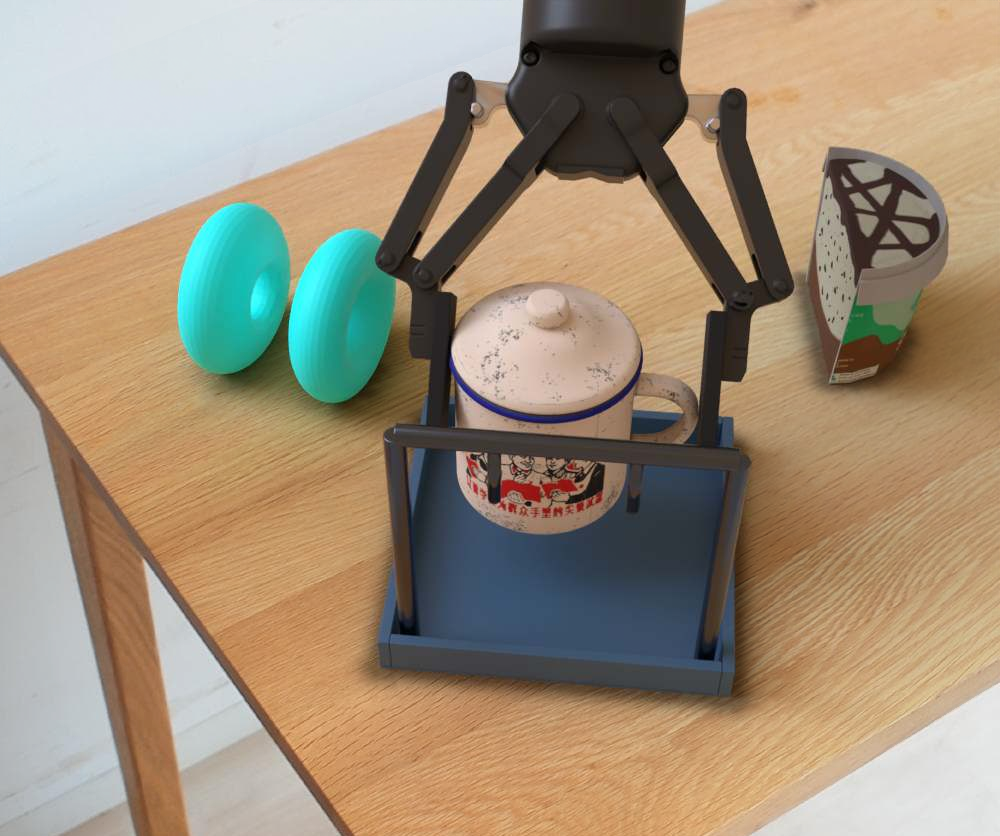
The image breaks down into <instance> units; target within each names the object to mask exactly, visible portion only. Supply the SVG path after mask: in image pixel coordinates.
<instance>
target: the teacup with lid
mask: <svg viewBox="0 0 1000 836" xmlns="http://www.w3.org/2000/svg"><path fill="white" fill-rule="evenodd" d="M643 363H644V350H643V345H642V341H641V339H640V337H639V333H638V331H637V329H636V326H635V325H634V324H633V322H632V320H631V319H630V318H629V317H628V315H627V313H625V312H624V310H623V309H621V308H620V307H619V306H618V305H617V304H616V303H614V302H613V301H611V300H610V299H608V298H607V297H605V296H604V295H602V294H599V293H597V292H596V291H594V290H590V289H588V288H585V287H582V286H579V285H575V284H572V283H571V284H570V283H566V282H558V281H531V282H529V281H528V282H521V283H517V284H513V285H509V286H506V287H503V288H501V289H497V290H495V291H493V292H491V293H489V294H487V295H485V296H484V297H482V298H480V299H479V300H478V301H476V302H475V303H474V304H473V305H471V306H470V307H469V308H468V309H467V310H466V312H465V313H463V315H462V316H461V318H460V319H459V321H458V322H457V324H456V325H455V330H454V332H453V335H452V337H451V340H450V345H449V364H450V368H451V371H452V375H453V377H454V378H453V380H454V397H455V420H456V427H462V428H476V429H490V430H503V431H517V432H530V433H544V434H557V435H571V436H585V437H598V438H612V439H625V440H639V441H652V442H666V443H680V444H683V443H684V442H685V441H686V440H687V439H688V438H689V436H690V435H691V434H692V432H693V431H694V429H695V426H696V424H697V420H698V412H699V399H698V397H697V395H696V393H695V392H694V389H692V387H690V386H689V384H687V383H685V382H684V381H683V380H681V379H679V378H676V377H674V376H671V375H667V374H661V373H651V372H642V369H643ZM635 396H636V397H637V396H638V397H653V398H659V399H665V400H667V401H671V402H673V403H674V404H676V405H677V406H678V407H679V408H680V409H681V410H682V413H683V414H682V416H681V417H680V419H679V420H678V421H677V422H676V423H675V424H674V425H673V426H671V427H670V428H668V429H666V430H664V431H662V432H658V433H653V434H630V431H631V421H632V411H633V410H634V401H635ZM456 458H457V476H458V481H459V485H460V488H461V490H462V492H463V494H464V496H465V497H466V499H467V500H468V501H469V503H470V504H471V505H472V506H473V507H474V508H475V510H477V511H478V512H479V513H480V514H481V515H483V516H484V517H485V518H487V519H488V520H490V521H492V522H493V523H495V524H498V525H500V526H502V527H505V528H507V529H510V530H514V531H517V532H522V533H528V534H540V535H546V534H558V533H564V532H569V531H572V530H576V529H579V528H581V527H584V526H586V525H588V524H590V523H592V522H594V521H596V520H597V519H598V518H600V517H601V516H603V515H604V514H605V513H606V512H607V511H608V510H609V509H610V508H611V507H612V506H613V505H614V503H615V502H616V501H617V499H618V498H619V496H620V494H621V492H622V489H623V486H624V483H625V478H626V469H627V464H623V463H610V462H596V461H583V460H570V459H556V458H543V457H529V456H516V455H503V454H501V501H500V502H499V503H498V504H491V503H490V502H489V501H488V493H487V453H476V452H463V451H456Z"/></svg>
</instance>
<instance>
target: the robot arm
mask: <svg viewBox="0 0 1000 836" xmlns="http://www.w3.org/2000/svg"><path fill="white" fill-rule="evenodd" d="M686 6H687V0H522V12H521V25H520V40H519V53H518V63H517V65H516V69H515V71H514V74H513V76H512V77H511V79H510V80H509V81H508V83H507V82H499V81H491V80H481V79H474V78H473V76H472V75H471V74H469V72H467V71H463V70H461V71H456V72H454V73H453V74H452V75H451V76H450V77H449V80H448V81H447V90H446V98H445V107H444V115H443V120H442V122H441V124H440V125H439V128H438V129H437V132H436V134H435V135H434V137H433V140H432V141H431V144H430V146H429V148H428V150H427V152H426V154H425V155H424V158H423V159H422V161H421V164H420V165H419V167H418V169H417V171H416V174H415V175H414V177H413V179H412V182H411V183H410V185H409V187H408V189H407V191H406V193H405V195H404V197H403V200H402V201H401V203H400V205H399V207H398V209H397V211H396V213H395V215H394V217H393V219H392V221H391V223H390V225H389V227H388V229H387V231H386V233H385V235H384V237H383V239H382V243H381V245H380V247H379V249H378V251H377V253H376V256H375V263H376V265H377V267H378V268H379V269H380V270H382V271H383V272H385V273H386V274H388V275H389V276H392V277H394V278H396V280H399V281H400V282H403V283H406V284H407V285H408V287H409V289H410V292H411V304H410V319H409V333H408V334H409V335H408V346H407V347H408V350H409V354H410V357H411V359H414V360H424V361H425V360H427V361H430V362H429V373H428V388H427V395H428V400H427V414H426V425H435V426H448V417H449V404H450V397H451V389H452V388H451V387H452V375H453V374H452V371H451V368H450V364H449V345H450V340H451V337H452V335H453V332H454V330H455V328H456V321H457V305H458V296H457V295H456V294H454V293H453V292H452V291H443V286H444V285H445V284H446V283H448V281H449V280H450V279H451V278H452V276H453V275H454V274H455V273H456V272H457V270H458V269H459V268H460V267H461V266H462V265H463V263H464V262H465V261H466V260H467V259H468V258H469V257H470V255H471V254H472V253H473V252H474V251H475V249H476V248H477V247H478V246H479V245H480V243H481V242H482V241H483V240H484V239H485V238H486V237H487V235H488V234H489V233H490V232H491V231H492V229H493V228H494V227H495V226H496V225H497V224H498V223H499V221H500V220H501V219H502V218H503V217H504V215H505V214H506V213H507V212H508V211H509V210H510V209H511V208H512V206H513V205H514V204H515V203H516V202H517V200H518V199H520V198H521V196H522V195H523V194H524V193H525V191H526V190H528V189H529V188H530V187H531V186H532V185H533V184H534V183H535V182H536V181H537V179H538V178H539V177H540V176H541V175H542V174H543V172H545V171H546V172H547V174H549V175H552V176H553V177H556V178H557V180H558V181H571V182H572V181H573V182H574V181H580V180H585V179H594V180H597V181H601V182H603V183H606V184H617V185H623V184H624V182H627V181H631V180H634V179H635V178H637V177H638V176H639V178H640V179H641V181H642V183H643V184H644V186H645V188H646V189H647V191H648V192H649V194H650V195H651V196H652V197H653V198H654V200H655V201H656V203H657V205H658V206H659V207H660V209H661V211H662V212H663V214H664V215H665V217H666V219H667V220H668V223H670V225H671V227H672V228H673V230H674V231H675V233H676V234H677V236H678V237H679V239H680V241H681V242H682V244H683V245H684V247H685V249H686V250H687V252H688V253H689V255H690V256H691V258H692V259H693V262H695V265H697V267H698V269H699V271H700V273H701V274H702V275H703V277H704V278H705V280H706V281H707V283H708V285H709V286H710V287H711V289H712V291H713V293H714V294H715V295H716V297H717V299H718V301H719V302H720V303H721V305H722V310H712V309H711V310H709V311H708V313H706V316H705V329H704V342H703V354H702V365H701V377H700V388H699V389H700V391H699V399H698V405H699V410H698V424H697V436H696V445H707V446H716V441H717V429H718V417H719V416H720V402H721V394H722V393H721V391H722V382H726V383H741V382H742V381H743V379H744V377H745V375H746V373H747V371H748V369H747V368H748V358H749V357H748V356H749V347H750V346H749V345H750V337H751V336H750V335H751V334H750V333H751V323H752V317H753V315H754V313H755V312H756V310H758V309H760V308H765V307H768V306H771V305H774V304H779V303H781V302H783V301H785V300H786V299H788V298H789V297H790V296H792V294H793V293H794V289H795V281H794V278H793V276H792V271H791V270H790V266H789V263H788V261H787V257H786V254H785V252H784V251H785V250H784V248H783V245H782V241H781V239H780V236H779V233H778V230H777V226H776V224H775V220H774V218H773V216H772V211H771V209H770V206H769V204H768V203H769V202H768V201H767V197H766V194H765V190H764V188H763V184H762V182H761V179H760V176H759V173H758V169H757V167H756V164H755V161H754V158H753V155H752V152H751V148H750V147H749V142H748V139H747V122H748V121H747V120H748V98H747V95H746V92H744V90H742V89H741V88H738V87H730V88H728V89H726V90H725V91H724V92H722V94H698V93H697V94H694V93H693V94H689V93H687V91H686V89H685V87H684V84H683V80H682V77H681V76H682V75H681V71H682V70H681V68H682V56H683V45H684V43H683V42H684V31H685V19H686V8H687V7H686ZM503 109H504V110H507V112H508V114H509V116H510V117H511V119H512V121H513V122H514V124H515V126H516V127H517V129H518V130H519V132H520V134H521V135H522V137H523V138H522V139H521V140H520V141H519V142H518V144H516V146H515V148H513V150H511V152H510V153H509V154H508V155H507V157H506V158H505V160H504V161H503V163H502V165H501V166H500V168H499V169H498V170H497V171H496V172H495V173H494V174H493V175H492V177H491V178H490V179H489V180H488V182H487V183H486V184H485V185H484V186H483V187H482V189H481V190H480V191H479V192H478V193H477V194H476V195H475V197H474V198H473V199H472V200H471V202H470V203H468V205H467V206H466V207H465V209H464V210H463V211H462V212H461V213H460V214H459V216H458V217H457V218H456V219H455V220H454V222H453V223H452V224H450V226H449V227H448V229H447V230H446V231H445V232H444V233H443V235H441V236H440V237H439V238H438V240H437V241H436V242H435V244H434V245H432V247H431V248H430V249H429V251H428V252H427V253H426V254H425V255H424V256H423V258H421V259H419V258H418V257H415V256H414V255H415V254H416V252H417V249H418V247H419V245H420V243H421V242H422V240H423V238H424V236H425V234H426V232H427V230H428V228H429V226H430V224H431V222H432V219H433V218H434V217H435V214H436V212H437V210H438V208H439V206H440V205H441V202H442V200H443V198H444V196H445V194H446V193H447V190H448V189H449V186H450V184H451V182H452V181H453V179H454V176H455V174H456V172H457V171H458V169H459V167H460V165H461V163H462V161H463V158H465V155H466V153H467V151H468V149H469V146H470V144H471V142H472V139H473V136H474V133H475V130H476V129H483V128H485V127H487V126H488V125H489V124H490V123H491V120H492V117H493V115H494V114H495V113H496V112H497V111H499V110H503ZM685 121H690V122H693V123H694V124H695V125H696V126H697V128H698V131H699V135H700V137H701V139H702V140H703V141H704V142H706V143H708V144H715V150H716V156H717V161H718V164H719V169H720V171H721V174H722V177H723V181H724V183H725V187H726V189H727V192H728V195H729V198H730V201H731V204H732V207H733V210H734V213H735V216H736V219H737V222H738V225H739V228H740V232H741V234H742V237H743V241H744V243H745V246H746V249H747V253H748V256H749V258H750V261H751V264H752V267H753V270H754V273H755V276H756V279H755V280H752V281H749V282H747V280H746V279H745V278H744V276H743V274H742V273H741V271H740V269H739V268H738V266H737V265H736V264H735V262H734V260H733V259H732V257H731V256H730V254H729V252H728V251H727V249H726V248H725V246H724V244H723V243H722V241H721V239H720V238H719V237H718V235H717V233H716V232H715V230H714V228H713V226H711V224H710V223H709V221H708V219H707V218H706V216H705V214H704V213H703V211H702V210H701V207H699V205H698V204H697V202H696V200H695V199H694V197H693V196H692V194H691V192H690V191H689V188H687V187H686V185H685V183H684V181H683V180H682V178H681V177H680V174H679V172H678V170H677V168H676V166H675V164H674V163H673V161H672V160H671V158H670V157H669V155H668V153H667V152H666V150H665V149H664V147H665V145H666V144H667V143H668V142H669V141H670V140H671V138H673V136H674V135H675V134H676V132H677V131H678V130H679V129H680V128H681V126H682V125H683V124H684V123H685Z"/></svg>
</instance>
